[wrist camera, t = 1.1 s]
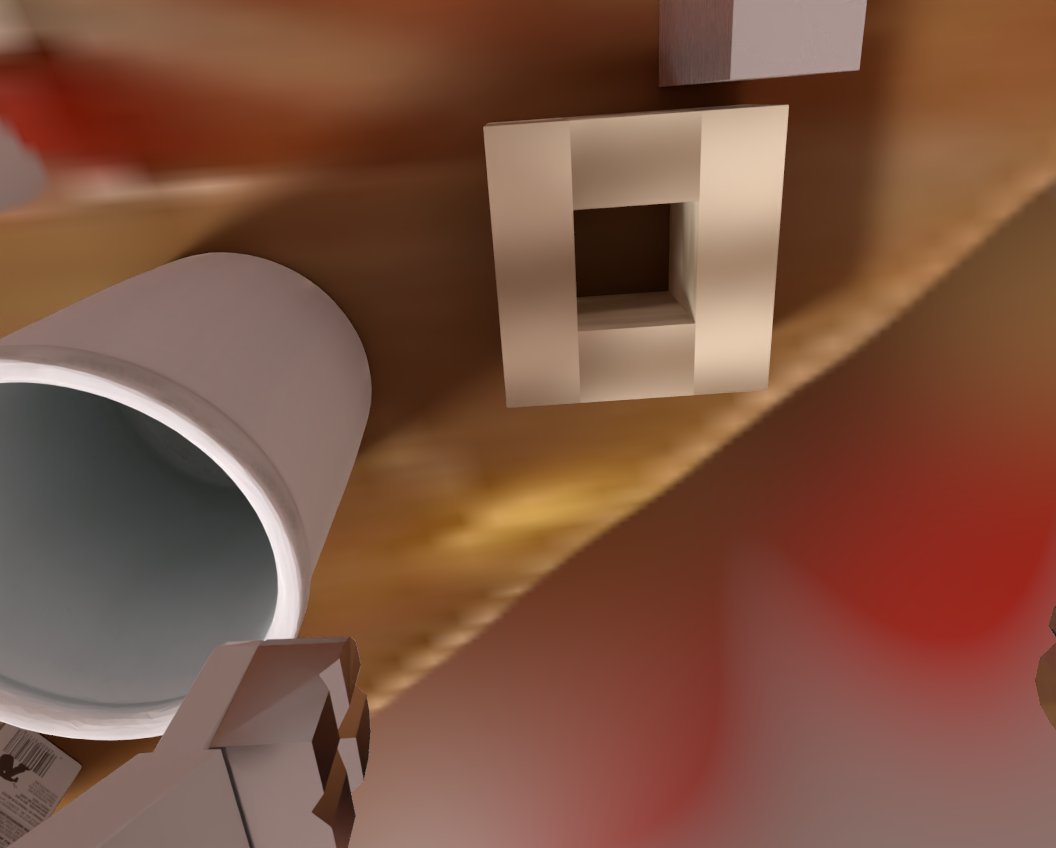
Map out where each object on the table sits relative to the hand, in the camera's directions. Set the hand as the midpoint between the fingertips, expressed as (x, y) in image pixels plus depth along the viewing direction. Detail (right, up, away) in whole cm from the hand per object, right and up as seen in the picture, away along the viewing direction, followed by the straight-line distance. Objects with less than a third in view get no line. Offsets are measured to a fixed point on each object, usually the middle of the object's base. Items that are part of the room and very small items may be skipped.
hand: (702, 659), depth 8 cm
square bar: (+6, +20, +24) cm, 32 cm away
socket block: (+2, +12, +28) cm, 30 cm away
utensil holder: (-17, +5, +30) cm, 35 cm away
